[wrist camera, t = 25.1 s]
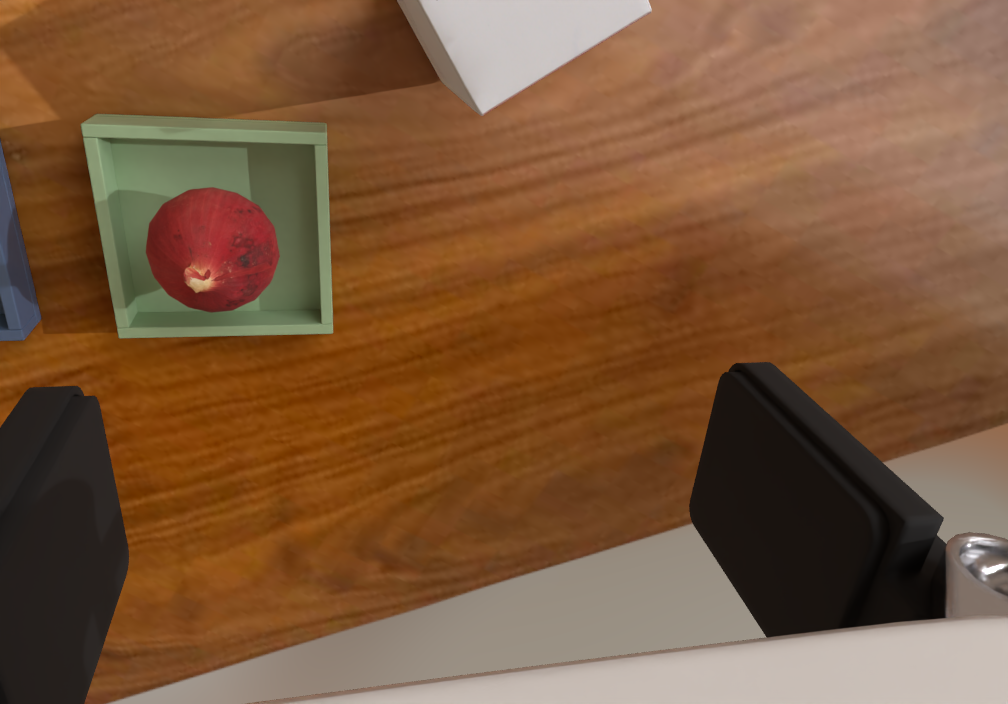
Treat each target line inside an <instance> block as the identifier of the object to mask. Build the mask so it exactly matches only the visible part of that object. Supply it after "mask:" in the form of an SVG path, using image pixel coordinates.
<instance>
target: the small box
mask: <svg viewBox="0 0 1008 704" xmlns="http://www.w3.org/2000/svg"><path fill="white" fill-rule="evenodd" d="M397 2H398V4H399V5H400V7H401V9H402V11H403V13H404V15H405V16H406V18H407V20H408V22H409V24H410V26H411V27H412V29H413V31H414V33H415V35H416V37H417V38H418V40H419V42H420V44H421V46H422V47H423V49H424V51H425V53H426V55H427V57H428V58H429V60H430V62H431V64H432V66H433V67H434V69H435V71H436V73H437V75H438V77H439V78H440V80H441V82H442V83H443V84H445V85H446V86H447V87H448V88H449V89H450V90H451V91H452V92H453V93H455V94H456V95H457V96H458V97H459V98H460V99H462V100H463V101H464V102H465V103H466V104H467V105H468V106H469V107H471V108H472V109H473V110H474V111H475V112H477V113H478V114H479V115H481V116H483V115H485V114H486V113H488V112H490V111H491V110H493V109H495V108H496V107H498V106H499V105H501V104H503V103H504V102H506V101H508V100H509V99H511V98H512V97H514V96H516V95H517V94H519V93H520V92H522V91H524V90H525V89H527V88H529V87H530V86H532V85H533V84H535V83H537V82H538V81H540V80H542V79H543V78H545V77H546V76H548V75H550V74H551V73H553V72H555V71H556V70H558V69H559V68H561V67H563V66H564V65H566V64H568V63H569V62H571V61H573V60H574V59H576V58H577V57H579V56H581V55H582V54H584V53H585V52H587V51H589V50H590V49H592V48H594V47H595V46H597V45H599V44H600V43H602V42H603V41H605V40H607V39H608V38H610V37H612V36H613V35H615V34H617V33H618V32H620V31H622V30H623V29H625V28H626V27H628V26H629V25H631V24H633V23H634V22H636V21H638V20H639V19H641V18H642V17H644V16H646V15H648V14H650V13H651V6H650V3H649V1H648V0H397Z"/></svg>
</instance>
